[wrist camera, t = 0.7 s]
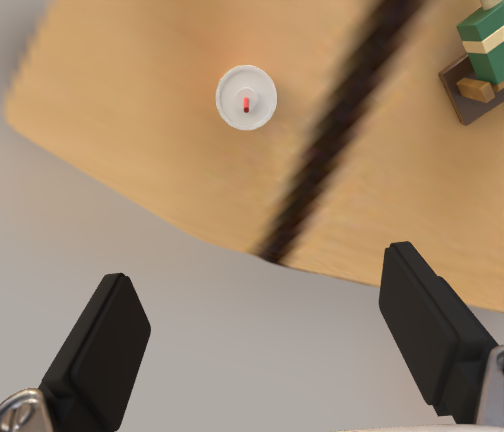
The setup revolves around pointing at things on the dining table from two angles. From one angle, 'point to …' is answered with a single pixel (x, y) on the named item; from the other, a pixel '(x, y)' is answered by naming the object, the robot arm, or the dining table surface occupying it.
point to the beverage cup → (246, 97)
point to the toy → (486, 42)
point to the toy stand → (468, 91)
